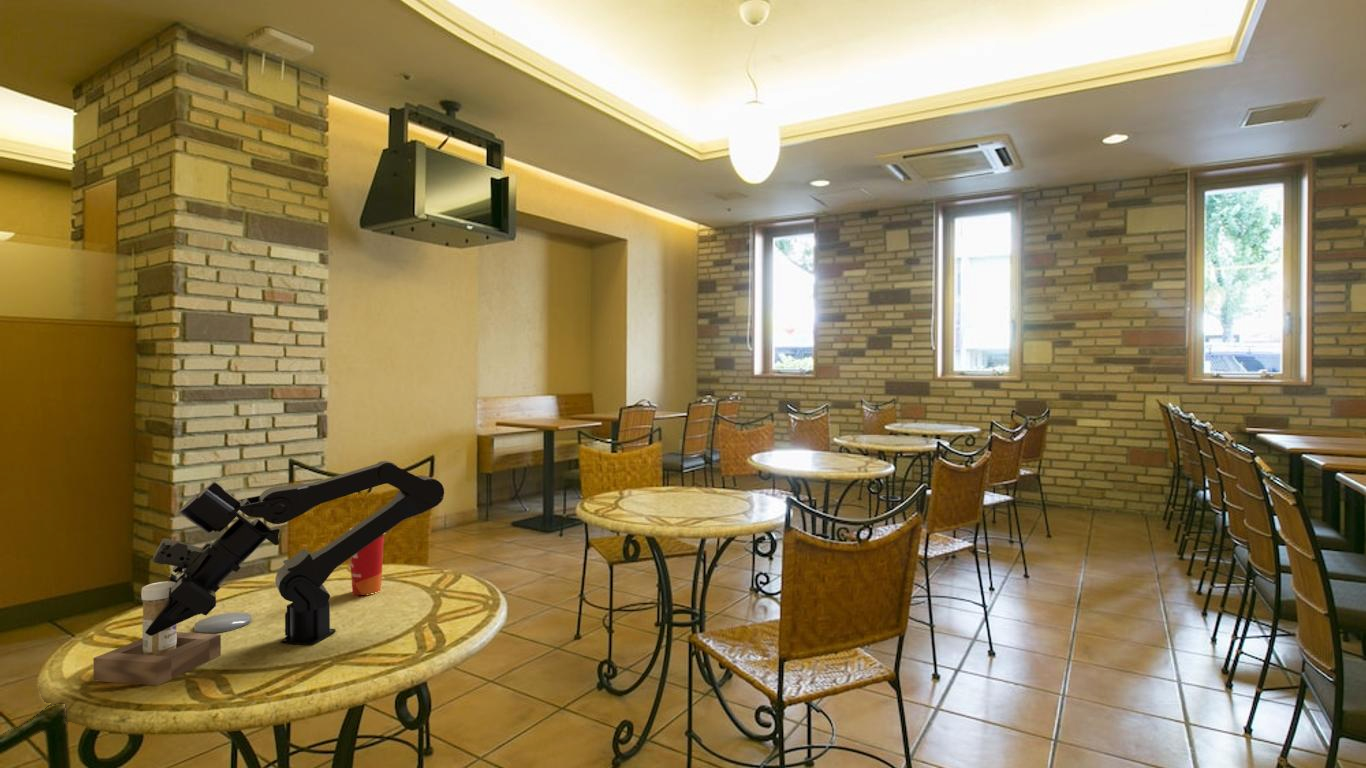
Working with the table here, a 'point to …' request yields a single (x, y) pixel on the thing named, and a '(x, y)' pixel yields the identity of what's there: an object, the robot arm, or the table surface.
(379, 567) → the paper cup
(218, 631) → the slate coaster
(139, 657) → the walnut caddy
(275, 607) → the table surface
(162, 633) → the sprinkles bottle
